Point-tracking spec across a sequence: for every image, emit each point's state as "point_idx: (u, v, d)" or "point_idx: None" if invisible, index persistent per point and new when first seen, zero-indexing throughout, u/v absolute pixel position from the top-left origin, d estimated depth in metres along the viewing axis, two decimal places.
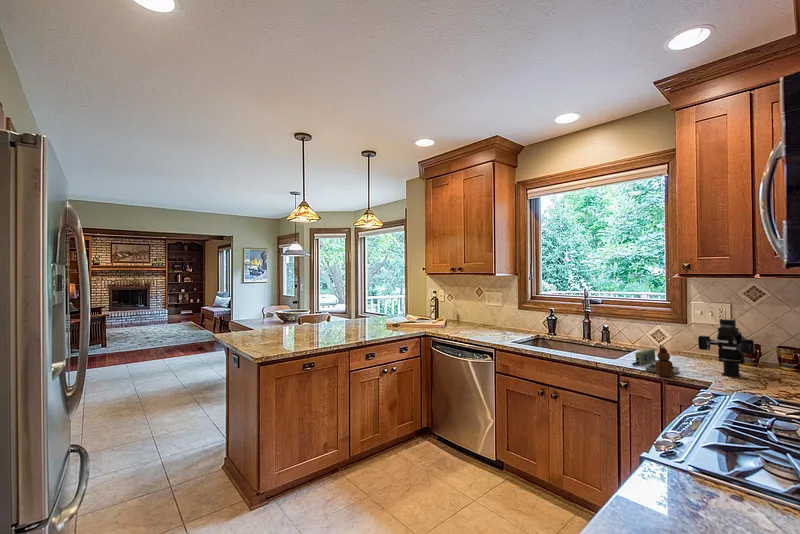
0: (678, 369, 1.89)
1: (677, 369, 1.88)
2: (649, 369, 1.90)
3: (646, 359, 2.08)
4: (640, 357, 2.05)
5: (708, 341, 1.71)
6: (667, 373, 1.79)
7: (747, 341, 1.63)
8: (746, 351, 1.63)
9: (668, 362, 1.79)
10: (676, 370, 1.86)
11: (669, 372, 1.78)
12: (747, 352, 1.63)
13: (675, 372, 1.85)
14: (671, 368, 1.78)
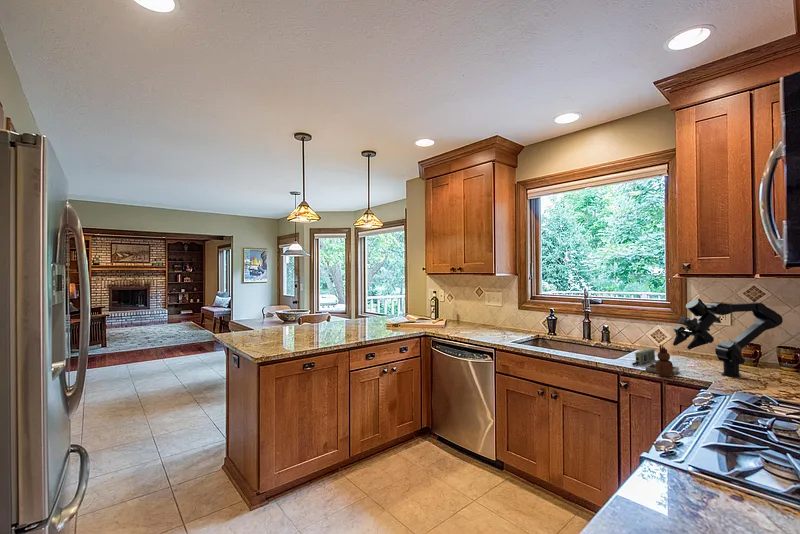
0: (678, 369, 1.89)
1: (677, 369, 1.88)
2: (649, 369, 1.90)
3: (646, 359, 2.08)
4: (640, 357, 2.05)
5: (676, 336, 1.87)
6: (667, 373, 1.79)
7: (698, 335, 1.74)
8: (704, 342, 1.74)
9: (668, 362, 1.79)
10: (676, 370, 1.86)
11: (669, 372, 1.78)
12: (705, 343, 1.74)
13: (675, 372, 1.85)
14: (671, 368, 1.78)
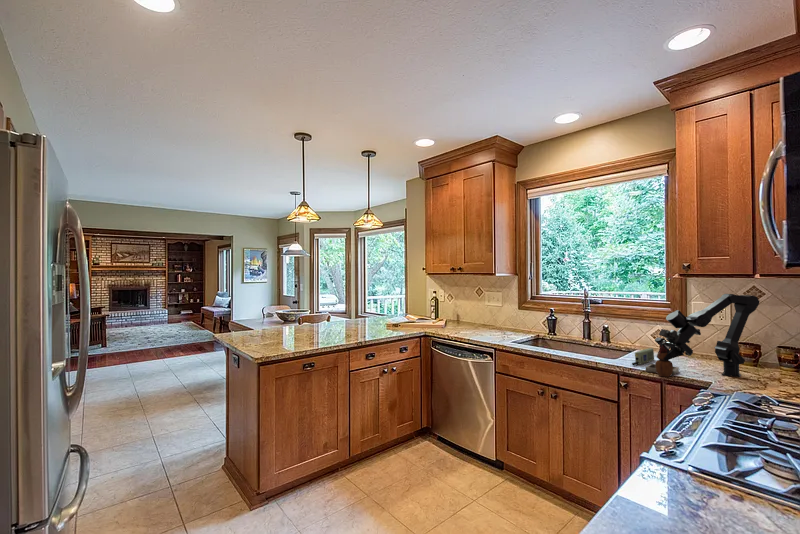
0: (678, 369, 1.89)
1: (677, 369, 1.88)
2: (649, 369, 1.90)
3: (645, 359, 2.08)
4: (640, 357, 2.05)
5: None
6: (667, 373, 1.79)
7: (674, 347, 1.76)
8: (680, 353, 1.76)
9: (668, 362, 1.79)
10: (676, 370, 1.86)
11: (669, 372, 1.78)
12: (681, 354, 1.76)
13: (675, 372, 1.85)
14: (671, 368, 1.78)
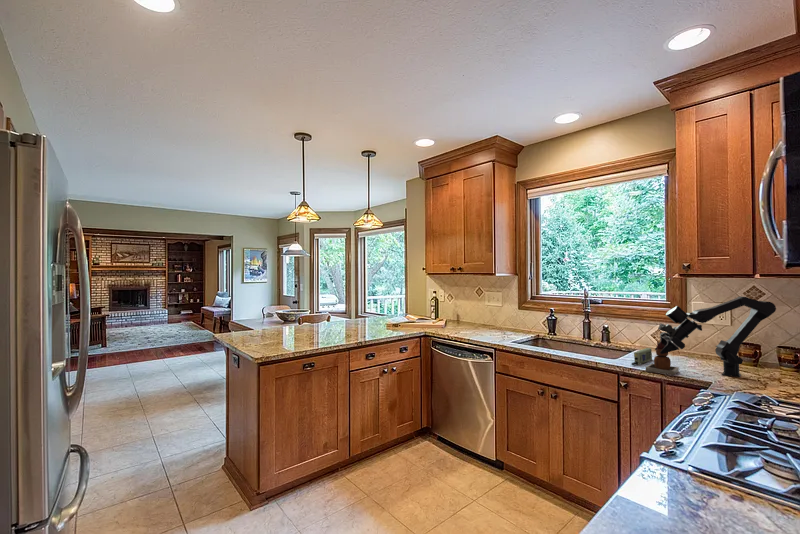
0: (678, 369, 1.89)
1: (677, 369, 1.88)
2: (649, 369, 1.90)
3: (644, 359, 2.09)
4: (639, 357, 2.05)
5: (659, 342, 1.95)
6: None
7: (669, 341, 1.84)
8: (676, 348, 1.83)
9: (664, 358, 1.88)
10: (676, 370, 1.86)
11: (665, 368, 1.87)
12: (677, 348, 1.83)
13: (675, 372, 1.85)
14: (667, 364, 1.87)
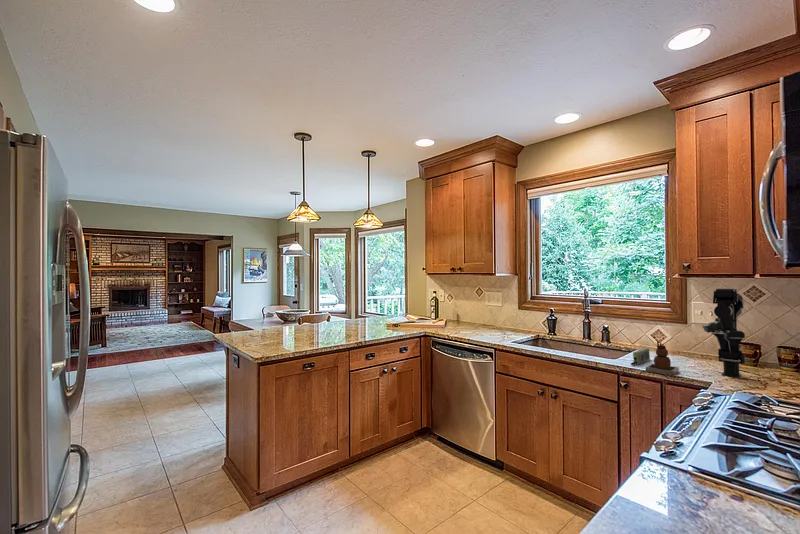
0: (678, 369, 1.89)
1: (677, 369, 1.88)
2: (649, 369, 1.90)
3: (643, 359, 2.09)
4: (638, 357, 2.06)
5: (717, 339, 1.78)
6: None
7: (727, 338, 1.67)
8: None
9: (664, 358, 1.88)
10: (676, 370, 1.86)
11: (665, 368, 1.87)
12: (740, 339, 1.65)
13: (675, 372, 1.85)
14: (667, 364, 1.87)
